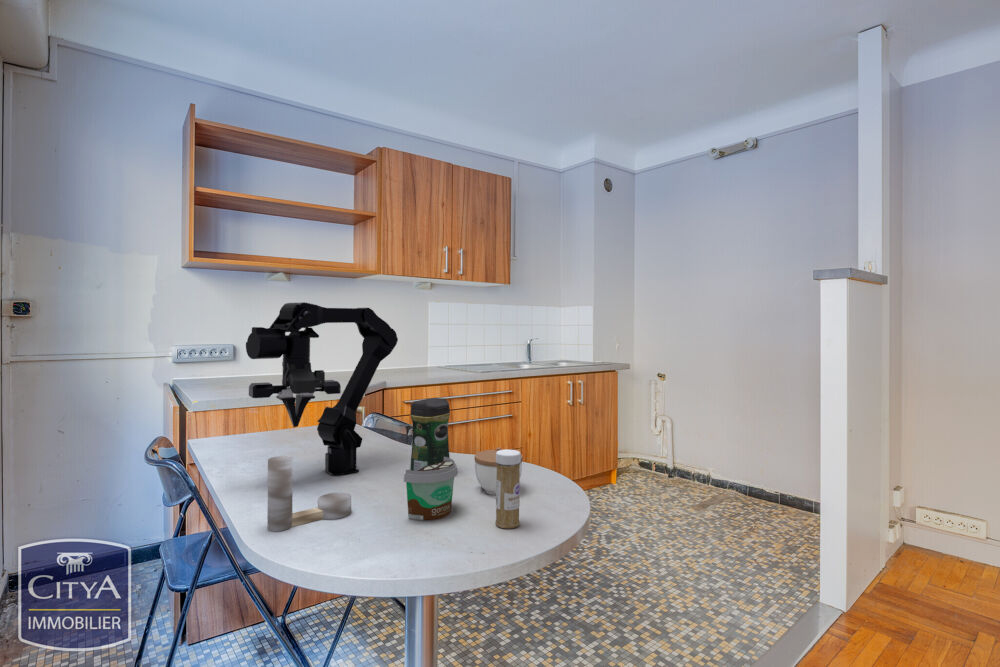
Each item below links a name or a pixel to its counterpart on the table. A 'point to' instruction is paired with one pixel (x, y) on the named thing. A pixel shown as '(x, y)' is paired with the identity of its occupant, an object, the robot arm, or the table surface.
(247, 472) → the table surface
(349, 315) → the robot arm
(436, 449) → the coffee jar
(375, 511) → the table surface
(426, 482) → the food container
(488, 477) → the lidded jar
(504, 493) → the sprinkles bottle
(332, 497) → the crank handle
